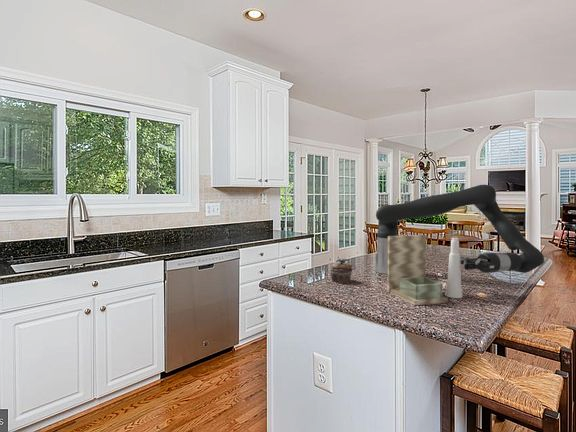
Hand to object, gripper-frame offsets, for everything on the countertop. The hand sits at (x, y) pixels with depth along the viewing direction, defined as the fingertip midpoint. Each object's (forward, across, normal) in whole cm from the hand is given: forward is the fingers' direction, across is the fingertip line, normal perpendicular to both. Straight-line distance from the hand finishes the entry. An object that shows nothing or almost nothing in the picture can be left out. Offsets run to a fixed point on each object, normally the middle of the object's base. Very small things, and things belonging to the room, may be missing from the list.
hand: (457, 264), depth 135 cm
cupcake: (+34, -32, +12) cm, 48 cm away
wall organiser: (+14, -3, +12) cm, 19 cm away
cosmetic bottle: (+1, 0, +12) cm, 12 cm away
